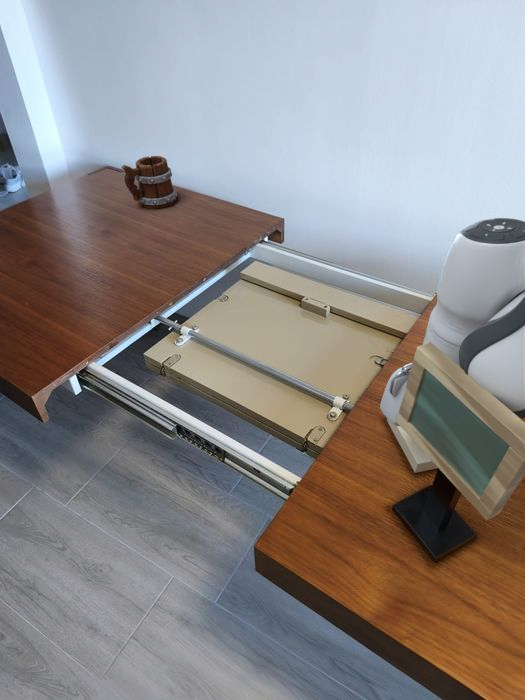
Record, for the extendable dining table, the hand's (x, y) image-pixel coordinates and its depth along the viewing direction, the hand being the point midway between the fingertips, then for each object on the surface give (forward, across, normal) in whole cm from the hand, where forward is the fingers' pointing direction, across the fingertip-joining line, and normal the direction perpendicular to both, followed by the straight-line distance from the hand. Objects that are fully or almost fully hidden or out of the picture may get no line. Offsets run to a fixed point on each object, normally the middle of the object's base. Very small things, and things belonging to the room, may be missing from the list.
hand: (437, 416), depth 68 cm
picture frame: (-9, -11, -10) cm, 18 cm away
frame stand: (+5, -9, -11) cm, 15 cm away
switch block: (+5, 0, 0) cm, 5 cm away
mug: (+6, -11, +105) cm, 106 cm away
